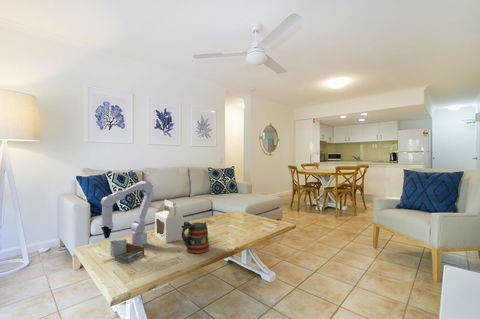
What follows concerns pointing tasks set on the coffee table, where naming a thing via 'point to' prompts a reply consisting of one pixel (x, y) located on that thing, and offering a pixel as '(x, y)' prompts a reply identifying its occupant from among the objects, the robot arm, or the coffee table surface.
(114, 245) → the medicine box
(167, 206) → the gable box
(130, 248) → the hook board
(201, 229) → the beer stein
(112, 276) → the coffee table surface
